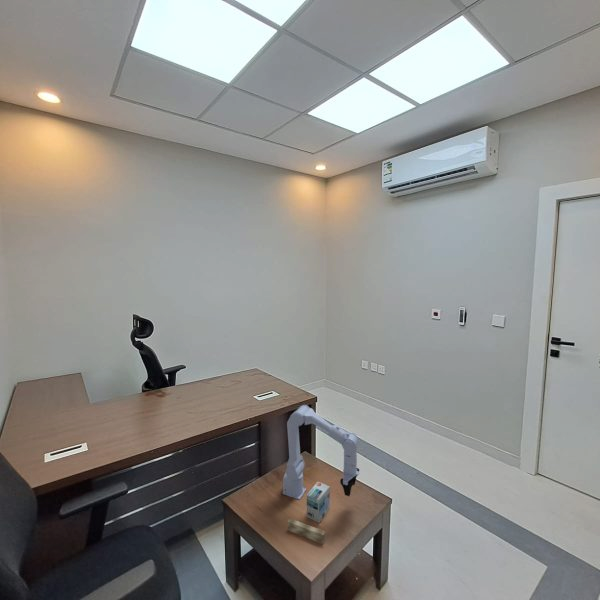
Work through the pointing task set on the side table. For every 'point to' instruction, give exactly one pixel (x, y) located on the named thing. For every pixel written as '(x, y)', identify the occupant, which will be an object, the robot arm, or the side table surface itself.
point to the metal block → (306, 531)
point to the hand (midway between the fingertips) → (349, 489)
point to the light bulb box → (318, 502)
